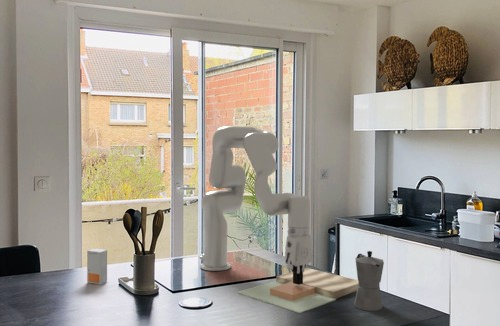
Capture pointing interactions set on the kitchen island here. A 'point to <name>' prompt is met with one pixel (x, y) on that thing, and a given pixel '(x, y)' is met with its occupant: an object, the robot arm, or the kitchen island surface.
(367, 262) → the coffeepot
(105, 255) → the skincare box
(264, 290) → the sage mat
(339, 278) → the board
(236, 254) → the kitchen island surface
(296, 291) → the terracotta tile
